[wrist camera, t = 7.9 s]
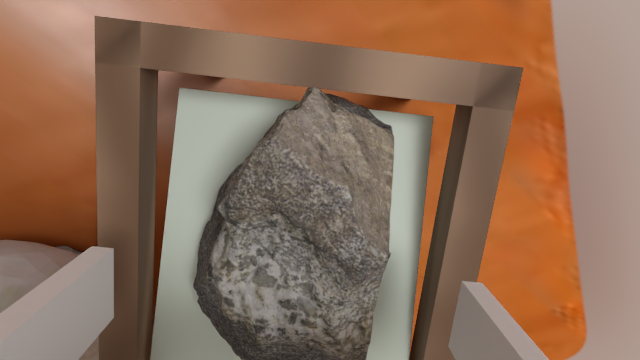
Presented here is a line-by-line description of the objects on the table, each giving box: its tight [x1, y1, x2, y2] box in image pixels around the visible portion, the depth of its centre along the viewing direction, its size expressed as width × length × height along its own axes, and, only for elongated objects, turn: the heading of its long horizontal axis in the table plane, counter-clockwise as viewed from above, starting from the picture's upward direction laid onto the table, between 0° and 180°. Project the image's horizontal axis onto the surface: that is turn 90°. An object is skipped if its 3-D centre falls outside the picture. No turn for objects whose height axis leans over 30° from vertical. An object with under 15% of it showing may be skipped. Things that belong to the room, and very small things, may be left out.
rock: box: [193, 87, 394, 360], centre depth 18 cm, size 13×9×6 cm, turn 170°
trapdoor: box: [150, 88, 433, 360], centre depth 22 cm, size 13×23×3 cm, turn 174°
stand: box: [95, 16, 523, 360], centre depth 28 cm, size 18×23×18 cm
